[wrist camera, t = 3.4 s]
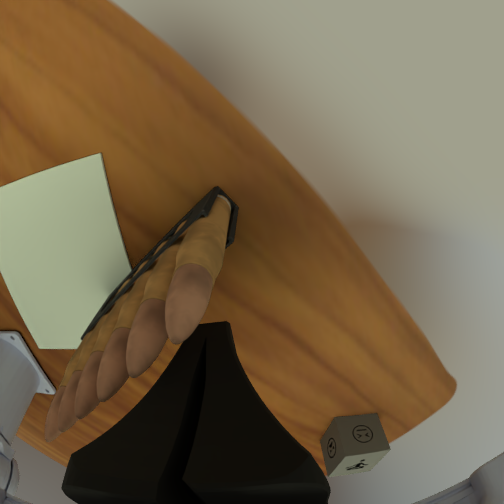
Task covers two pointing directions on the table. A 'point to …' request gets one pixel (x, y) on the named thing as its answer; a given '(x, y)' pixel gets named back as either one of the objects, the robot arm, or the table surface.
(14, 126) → the table surface
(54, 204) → the mat
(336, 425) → the dice cube
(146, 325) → the ammunition clip
